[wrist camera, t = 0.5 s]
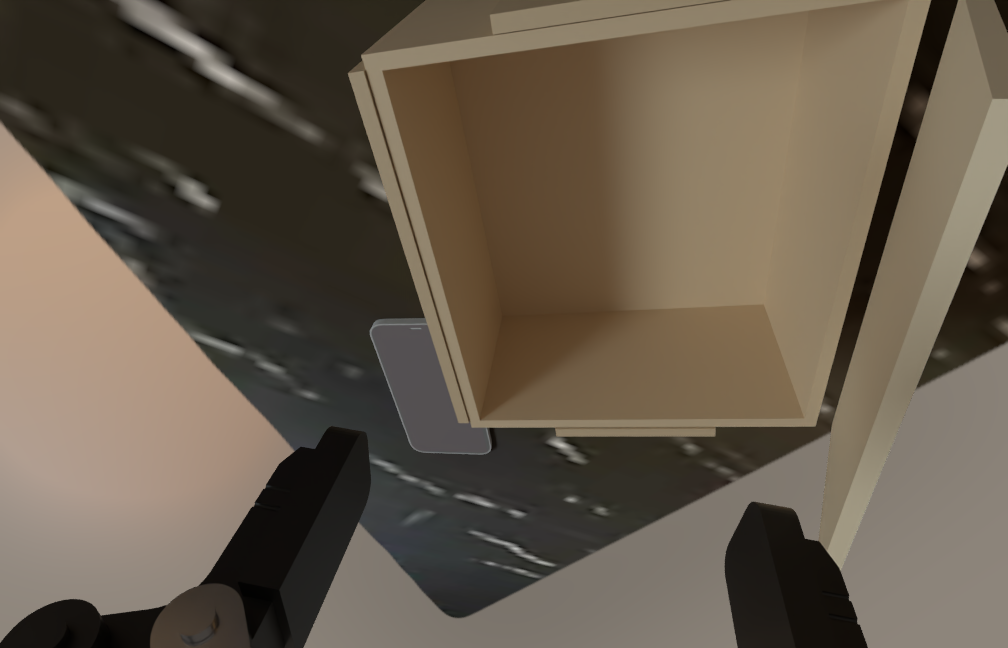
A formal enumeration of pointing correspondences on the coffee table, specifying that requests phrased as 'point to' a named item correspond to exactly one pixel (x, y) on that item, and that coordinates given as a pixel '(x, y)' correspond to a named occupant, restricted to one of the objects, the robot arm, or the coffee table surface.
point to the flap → (920, 260)
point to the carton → (636, 199)
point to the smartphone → (423, 389)
